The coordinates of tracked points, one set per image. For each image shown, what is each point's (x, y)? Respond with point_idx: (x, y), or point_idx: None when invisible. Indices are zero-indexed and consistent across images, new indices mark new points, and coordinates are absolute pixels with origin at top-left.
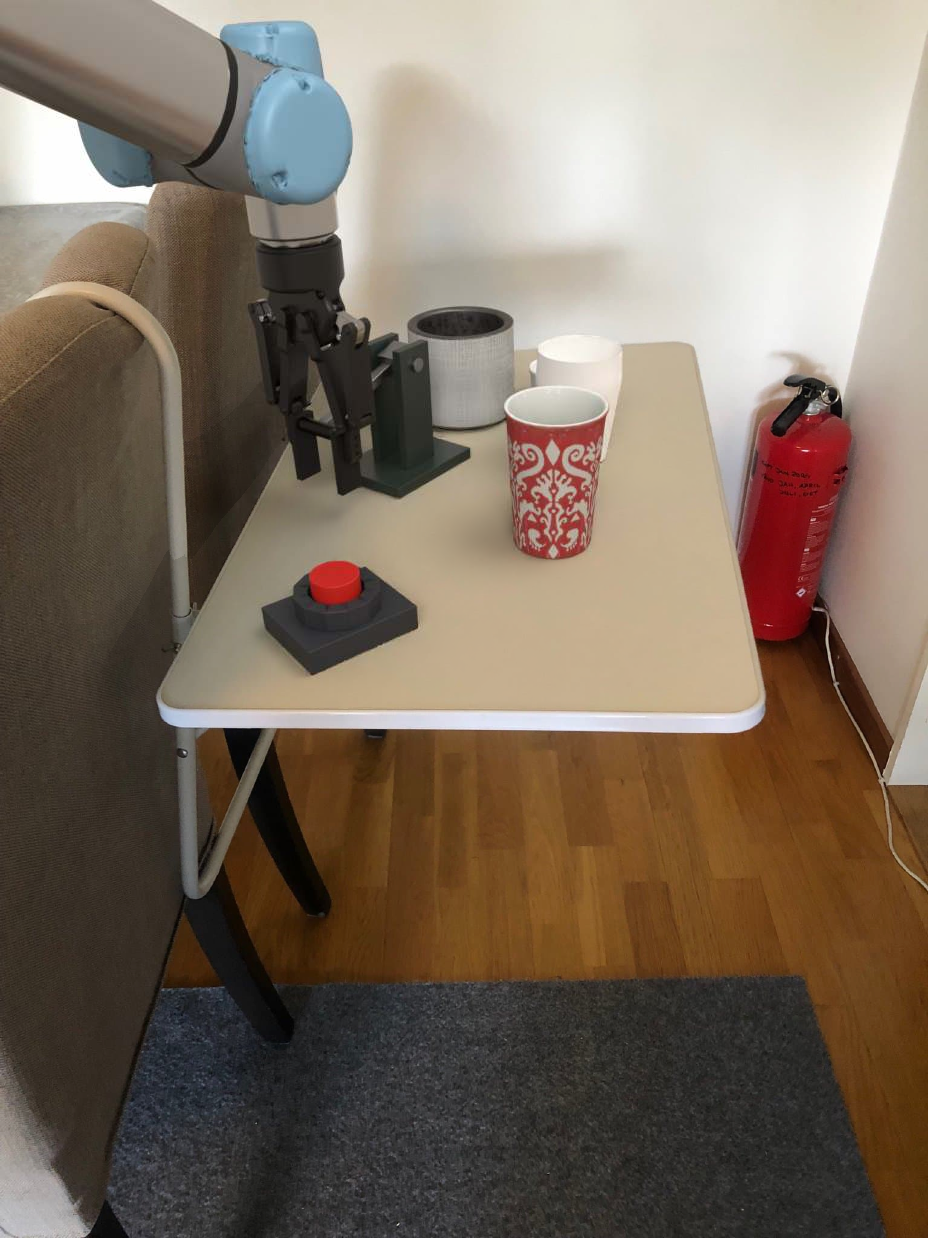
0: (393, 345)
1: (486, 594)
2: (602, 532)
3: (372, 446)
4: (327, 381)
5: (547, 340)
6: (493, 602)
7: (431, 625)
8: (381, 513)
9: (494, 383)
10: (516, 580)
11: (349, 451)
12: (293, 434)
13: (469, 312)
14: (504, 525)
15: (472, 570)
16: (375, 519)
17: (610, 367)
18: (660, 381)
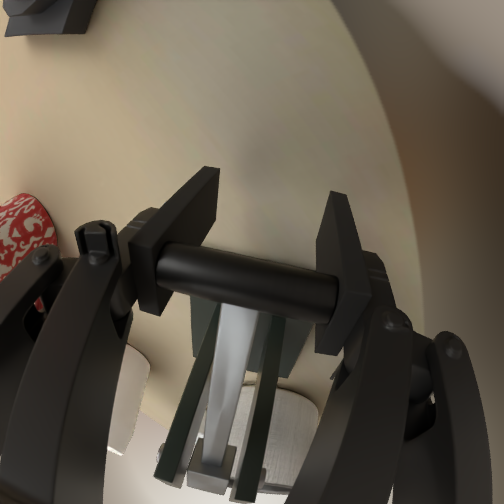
0: (214, 489)
1: (13, 116)
2: None
3: (283, 334)
4: (31, 406)
5: (122, 453)
6: (7, 111)
7: (20, 46)
8: None
9: None
10: (12, 151)
11: (134, 224)
12: (348, 255)
13: (264, 489)
14: (69, 232)
15: (35, 140)
16: (184, 177)
17: None
18: None
